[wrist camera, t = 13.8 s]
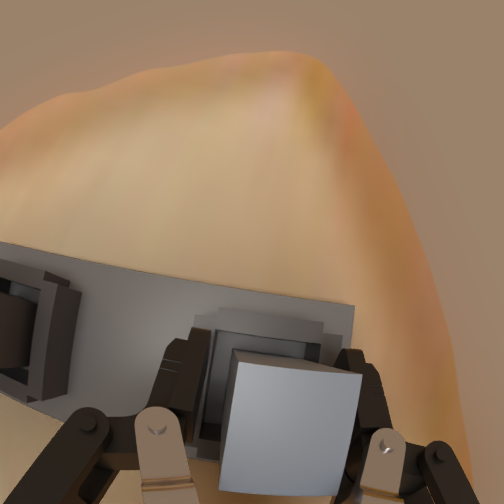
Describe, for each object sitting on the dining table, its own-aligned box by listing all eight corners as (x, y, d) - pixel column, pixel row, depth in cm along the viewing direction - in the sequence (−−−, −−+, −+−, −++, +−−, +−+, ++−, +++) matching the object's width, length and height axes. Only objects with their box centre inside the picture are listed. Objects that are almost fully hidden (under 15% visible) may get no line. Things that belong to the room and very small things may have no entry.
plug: (222, 411, 16) (218, 489, 6) (232, 347, 17) (238, 361, 7) (281, 419, 16) (336, 495, 7) (291, 356, 17) (362, 374, 8)
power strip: (-14, 376, 16) (-125, 378, 5) (7, 246, 18) (-96, 185, 8) (321, 462, 16) (402, 556, 6) (345, 308, 19) (461, 271, 8)
